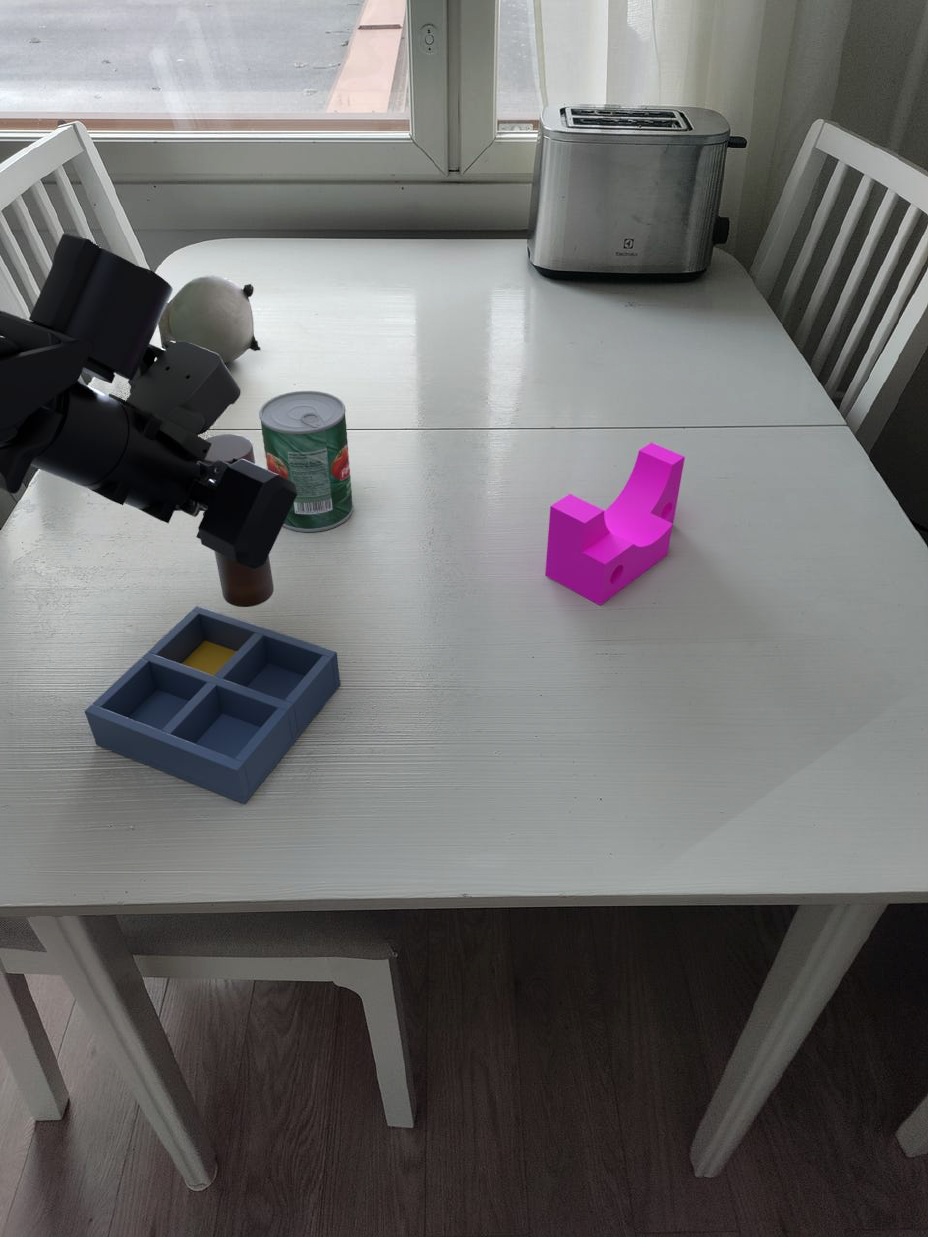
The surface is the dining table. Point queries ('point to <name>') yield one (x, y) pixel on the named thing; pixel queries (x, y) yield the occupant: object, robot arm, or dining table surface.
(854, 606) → the dining table surface
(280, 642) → the grid
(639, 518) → the toy block
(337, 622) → the dining table surface
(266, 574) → the brown wooden dowel
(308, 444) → the canned tomato
